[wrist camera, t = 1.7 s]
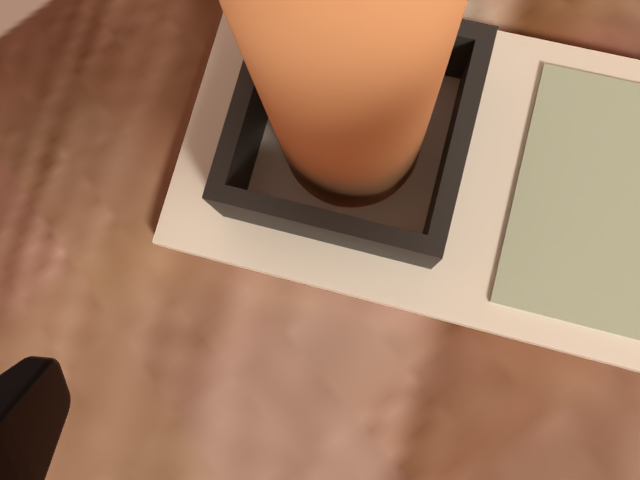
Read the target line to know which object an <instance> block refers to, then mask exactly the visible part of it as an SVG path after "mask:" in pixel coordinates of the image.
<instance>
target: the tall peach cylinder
mask: <svg viewBox="0 0 640 480" xmlns="http://www.w3.org/2000/svg"><path fill="white" fill-rule="evenodd" d="M467 2H468V0H219V3H220V5H221V8H222V10H223V12H224V15H225V17H226V19H227V22H228V24H229V26H230V29H231V31H232V33H233V36H234V38H235V40H236V43H237V45H238V47H239V50H240V52H241V55H242V57H243V59H244V62H245V64H246V66H247V69H248V71H249V73H250V76H251V78H252V80H253V83H254V85H255V87H256V90H257V92H258V94H259V97H260V99H261V102H262V104H263V106H264V109H265V111H266V113H267V116H268V118H269V120H270V123H271V125H272V127H273V130H274V132H275V134H276V137H277V139H278V141H279V144H280V146H281V149H282V151H283V153H284V156H285V158H286V160H287V163H288V165H289V167H290V169H291V171H292V174H293V175H294V177H295V178H296V180H297V181H298V182H299V184H300V185H301V186H302V187H303V188H304V189H305V190H306V191H307V192H308V193H310V194H311V195H313V196H314V197H316V198H317V199H319V200H321V201H323V202H325V203H328V204H331V205H335V206H340V207H350V208H352V207H363V206H368V205H372V204H375V203H378V202H380V201H382V200H384V199H386V198H387V197H389V196H391V195H392V194H394V193H395V192H396V191H397V190H398V189H399V188H400V187H401V186H402V185H403V184H404V183H405V182H406V181H407V179H408V178H409V176H410V175H411V173H412V171H413V169H414V167H415V165H416V162H417V159H418V156H419V153H420V150H421V146H422V143H423V140H424V137H425V134H426V131H427V128H428V124H429V121H430V118H431V115H432V112H433V109H434V106H435V102H436V99H437V96H438V93H439V90H440V87H441V84H442V80H443V77H444V74H445V71H446V68H447V65H448V62H449V58H450V55H451V52H452V49H453V46H454V43H455V40H456V36H457V33H458V30H459V27H460V24H461V21H462V18H463V14H464V11H465V8H466V5H467Z"/></svg>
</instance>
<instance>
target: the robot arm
mask: <svg viewBox="0 0 640 480" xmlns="http://www.w3.org/2000/svg"><path fill="white" fill-rule="evenodd" d="M70 401H71V399H70V392H69V389H68V387H67V384H66V381H65V378H64V375H63V372H62V369H61V366H60V364H59V362H58V361H57V360H56V359H54V358H47V357H37V356H30V357H27V358H25V359H23V360H21V361H20V362H18V363H17V364H15V365H14V366H12V367H11V368H9V369H8V370H7V371H5V372H4V373H2V374H1V375H0V480H45V477H46V475H47V472H48V469H49V466H50V463H51V460H52V457H53V455H54V452H55V449H56V446H57V443H58V440H59V438H60V435H61V432H62V429H63V426H64V423H65V420H66V418H67V415H68V412H69V408H70Z"/></svg>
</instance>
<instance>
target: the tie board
mask: <svg viewBox="0 0 640 480" xmlns="http://www.w3.org/2000/svg"><path fill="white" fill-rule="evenodd" d="M152 243H154V244H156V245H158V246H161V247H164V248H168V249H172V250H176V251H180V252H183V253H187V254H191V255H195V256H199V257H202V258H206V259H210V260H214V261H218V262H221V263H225V264H229V265H233V266H237V267H240V268H244V269H248V270H252V271H255V272H259V273H263V274H267V275H271V276H274V277H278V278H282V279H286V280H290V281H293V282H297V283H301V284H305V285H309V286H312V287H316V288H320V289H324V290H327V291H331V292H335V293H339V294H343V295H346V296H350V297H354V298H358V299H362V300H365V301H369V302H373V303H377V304H381V305H384V306H388V307H392V308H396V309H400V310H403V311H407V312H411V313H415V314H418V315H422V316H426V317H430V318H434V319H437V320H441V321H445V322H449V323H453V324H456V325H460V326H464V327H468V328H472V329H475V330H479V331H483V332H487V333H491V334H494V335H498V336H502V337H506V338H509V339H513V340H517V341H521V342H525V343H528V344H532V345H536V346H540V347H544V348H547V349H551V350H555V351H559V352H563V353H566V354H570V355H574V356H578V357H581V358H585V359H589V360H593V361H597V362H600V363H604V364H608V365H612V366H616V367H619V368H623V369H627V370H631V371H635V372H638V373H640V60H637V59H632V58H628V57H623V56H618V55H613V54H609V53H604V52H599V51H594V50H589V49H585V48H580V47H575V46H570V45H566V44H561V43H556V42H551V41H546V40H542V39H537V38H532V37H527V36H523V35H518V34H513V33H508V32H504V31H499V30H498V26H493V25H488V24H483V23H479V22H474V21H469V20H464V19H462V21H461V24H460V27H459V30H458V33H457V36H456V40H455V43H454V46H453V49H452V52H451V55H450V58H449V62H448V65H447V68H446V71H445V74H444V77H443V80H442V84H441V87H440V90H439V93H438V96H437V99H436V102H435V106H434V109H433V112H432V115H431V118H430V121H429V124H428V128H427V131H426V134H425V137H424V140H423V143H422V146H421V150H420V153H419V156H418V159H417V162H416V165H415V167H414V169H413V171H412V173H411V175H410V176H409V178H408V179H407V181H406V182H405V183H404V184H403V185H402V186H401V187H400V188H399V189H398V190H397V191H396V192H395V193H394V194H392V195H391V196H389V197H387V198H386V199H384V200H382V201H380V202H378V203H375V204H372V205H368V206H363V207H352V208H350V207H340V206H335V205H331V204H328V203H325V202H323V201H321V200H319V199H317V198H316V197H314V196H313V195H311V194H310V193H308V192H307V191H306V190H305V189H304V188H303V187H302V186H301V185H300V184H299V182H298V181H297V180H296V178H295V177H294V175H293V174H292V171H291V169H290V167H289V165H288V163H287V160H286V158H285V156H284V153H283V151H282V149H281V146H280V144H279V141H278V139H277V137H276V134H275V132H274V130H273V127H272V125H271V123H270V120H269V118H268V116H267V113H266V111H265V109H264V106H263V104H262V102H261V99H260V97H259V94H258V92H257V90H256V87H255V85H254V83H253V80H252V78H251V76H250V73H249V71H248V69H247V66H246V64H245V62H244V59H243V57H242V55H241V52H240V50H239V47H238V45H237V43H236V40H235V38H234V36H233V33H232V31H231V29H230V26H229V24H228V22H227V19H226V17H225V15H224V12H223V15H222V18H221V21H220V24H219V28H218V31H217V34H216V37H215V40H214V44H213V47H212V50H211V53H210V57H209V60H208V63H207V66H206V69H205V73H204V76H203V79H202V82H201V86H200V89H199V92H198V95H197V99H196V102H195V105H194V108H193V111H192V115H191V118H190V121H189V124H188V128H187V131H186V134H185V137H184V140H183V144H182V147H181V150H180V153H179V157H178V160H177V163H176V166H175V170H174V173H173V176H172V179H171V182H170V186H169V189H168V192H167V195H166V199H165V202H164V205H163V208H162V211H161V215H160V218H159V221H158V224H157V228H156V231H155V234H154V237H153V240H152Z"/></svg>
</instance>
